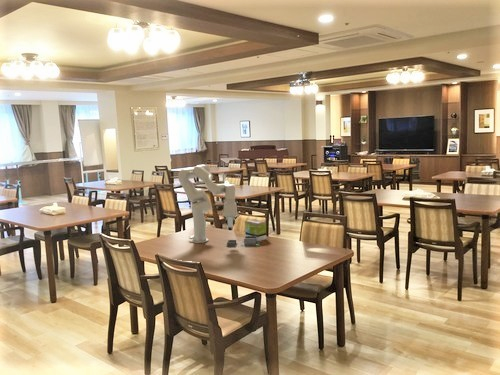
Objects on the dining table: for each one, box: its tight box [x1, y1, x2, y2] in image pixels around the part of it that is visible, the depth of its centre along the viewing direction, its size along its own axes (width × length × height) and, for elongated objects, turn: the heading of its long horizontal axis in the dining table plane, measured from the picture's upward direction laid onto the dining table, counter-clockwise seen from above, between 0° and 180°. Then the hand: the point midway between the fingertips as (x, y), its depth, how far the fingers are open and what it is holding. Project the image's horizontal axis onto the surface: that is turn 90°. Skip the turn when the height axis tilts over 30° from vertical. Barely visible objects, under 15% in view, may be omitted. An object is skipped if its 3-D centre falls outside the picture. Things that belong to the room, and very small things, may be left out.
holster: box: [225, 239, 238, 248], centre depth 335 cm, size 8×9×4 cm
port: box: [240, 235, 261, 248], centre depth 336 cm, size 14×12×6 cm
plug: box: [227, 216, 235, 228], centre depth 333 cm, size 4×4×9 cm
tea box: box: [244, 218, 267, 242], centre depth 353 cm, size 15×10×15 cm, turn 43°
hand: (230, 224), depth 333 cm, fingers closed on plug, 4 cm apart
